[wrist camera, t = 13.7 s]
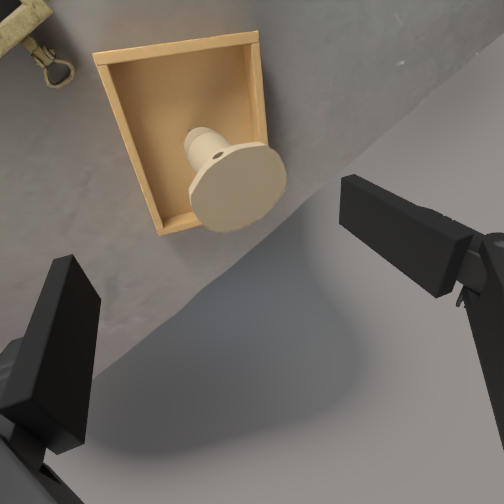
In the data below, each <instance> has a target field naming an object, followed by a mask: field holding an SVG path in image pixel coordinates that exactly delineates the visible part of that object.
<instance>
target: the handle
mask: <svg viewBox="0 0 504 504" xmlns="http://www.w3.org/2000/svg"><path fill="white" fill-rule="evenodd" d="M183 146H184V150H185V155H186V158H187V161H188V163H189V164H190V166H191V168H192V169H193V170H194V172H195V173H196V174H197V175H196V176H195V178H194V180H193V182H192V184H191V185H190V187H189V200H190V204H191V206H192V209H193V211H194V213H195V215H196V217H197V218H198V220H199V221H200V222H201V223H202V224H203V225H204V226H205V227H206V228H208V229H209V230H211V231H214V232H217V233H223V232H228V231H233V230H237V229H241V228H244V227H246V226H248V225H250V224H252V223H253V222H255V221H256V220H258V219H259V218H261V217H262V216H264V215H265V214H266V213H267V212H269V211H270V210H271V209H272V207H273V206H274V205H275V204H276V202H277V201H278V200H279V198H280V197H281V195H282V194H283V192H284V191H285V189H286V186H287V173H286V169H285V166H284V163H283V161H282V160H281V158H280V156H279V155H278V154H277V153H276V151H274V150H273V149H272V148H270V147H269V146H267V145H265V144H263V143H261V142H251V143H243V144H237V145H233V146H232V145H231V144H230V143H229V142H228V140H227V139H226V138H225V137H224V136H222V135H221V134H220V133H218V132H217V131H215V130H213V129H210V128H207V127H198V128H195V127H191V128H190V129H189V130H188V135H187V136H186V139H185V141H183Z"/></svg>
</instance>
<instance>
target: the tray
mask: <svg viewBox="0 0 504 504" xmlns="http://www.w3.org/2000/svg"><path fill="white" fill-rule="evenodd" d="M92 55H93V58H94V61H95V64H96V66H97V69H98V72H99V74H100V77H101V80H102V83H103V85H104V88H105V91H106V94H107V96H108V99H109V102H110V104H111V107H112V110H113V113H114V115H115V118H116V121H117V124H118V126H119V129H120V132H121V134H122V137H123V140H124V143H125V145H126V148H127V151H128V154H129V156H130V159H131V162H132V164H133V167H134V170H135V173H136V175H137V178H138V181H139V184H140V186H141V189H142V192H143V194H144V197H145V200H146V203H147V205H148V208H149V211H150V214H151V216H152V219H153V222H154V224H155V227H156V230H157V233H158V235H159V236H163V235H166V234H170V233H174V232H177V231H181V230H185V229H188V228H192V227H196V226H199V225H203V224H202V223H201V222H200V221H199V220H198V218H197V217H196V215H195V213H194V211H193V209H192V206H191V204H190V200H189V187H190V185H191V184H192V182H193V180H194V178H195V176H196V175H197V174H196V173H195V172H194V170H193V169H192V168H191V166H190V164H189V163H188V161H187V158H186V155H185V150H184V146H183V141H185V139H186V136H187V135H188V130H189V129H190V128H191V127H195V128H198V127H207V128H210V129H213V130H215V131H217V132H218V133H220V134H221V135H222V136H224V137H225V138H226V139H227V140H228V142H229V143H230V144H231V145H232V146H233V145H237V144H243V143H251V142H261V143H263V144H265V145H267V146H268V136H267V124H266V113H265V101H264V90H263V78H262V67H261V55H260V44H259V32H258V31H251V32H244V33H237V34H229V35H222V36H215V37H208V38H200V39H193V40H186V41H179V42H171V43H164V44H157V45H149V46H142V47H135V48H128V49H120V50H113V51H106V52H99V53H92Z"/></svg>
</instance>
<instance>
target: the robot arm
mask: <svg viewBox="0 0 504 504" xmlns="http://www.w3.org/2000/svg"><path fill="white" fill-rule="evenodd" d="M339 224H340V225H342V226H343V227H344V228H346V229H347V230H348V231H349V232H351V233H352V234H353V235H355V236H356V237H357V238H359V239H360V240H361V241H362V242H364V243H365V244H367V245H368V246H369V247H370V248H371V249H373V250H374V251H375V252H377V253H378V254H379V255H381V256H382V257H383V258H384V259H386V260H387V261H388V262H390V263H391V264H392V265H394V266H395V267H396V268H397V269H399V270H400V271H401V272H403V273H404V274H405V275H406V276H408V277H409V278H411V279H412V280H413V281H414V282H416V283H417V284H418V285H420V286H421V287H422V288H423V289H425V290H426V291H427V292H429V293H430V294H431V295H432V296H434V297H435V298H438V297H441V296H443V295H446V294H448V293H451V292H452V290H453V287H454V285H455V282H456V280H457V281H459V282H460V283H462V284H463V288H462V290H461V293H460V295H459V297H458V300H457V303H456V307H459V306H460V304H461V302H462V301H464V304H465V306H464V308H466V311H467V315H468V319H469V322H470V326H471V330H472V334H473V338H474V341H475V345H476V348H477V353H478V356H479V360H480V364H481V367H482V371H483V374H484V379H485V382H486V386H487V389H488V394H489V397H490V401H491V405H492V409H493V412H494V416H495V420H496V424H497V427H498V431H499V435H500V439H501V442H502V446H503V449H504V233H490V234H486V235H484V234H481V233H479V232H477V231H475V230H473V229H471V228H469V227H467V226H465V225H463V224H461V223H459V222H457V221H455V220H453V221H452V219H451V218H449V217H447V216H443V214H441V213H439V212H436V211H434V210H432V209H428V208H425V207H420V206H417V205H415V204H413V203H411V202H409V201H407V200H405V199H403V198H401V197H399V196H397V195H395V194H393V193H391V192H389V191H387V190H385V189H383V188H381V187H379V186H377V185H375V184H373V183H371V182H369V181H367V180H365V179H363V178H361V177H359V176H357V175H355V174H353V175H349V176H345V177H342V178H341V196H340V214H339ZM100 306H101V298H100V297H99V295H98V294H97V292H96V290H95V289H94V287H93V286H92V284H91V282H90V281H89V279H88V278H87V276H86V274H85V273H84V271H83V270H82V268H81V266H80V265H79V263H78V262H77V260H76V258H75V257H74V255H73V254H71V255H68V256H64V257H61V258H57V259H54V260H53V262H52V265H51V267H50V270H49V272H48V275H47V278H46V280H45V283H44V286H43V288H42V291H41V293H40V296H39V299H38V301H37V304H36V307H35V309H34V312H33V314H32V317H31V320H30V322H29V325H28V327H27V330H26V333H25V335H24V337H22V338H18V339H15V340H12V341H11V342H10V343H9V344H8V346H7V347H6V348H5V349H4V350H3V352H2V353H1V354H0V504H84V503H83V502H82V501H81V500H80V498H79V497H78V496H77V495H76V494H75V493H74V492H73V491H72V490H71V489H70V488H69V487H68V486H67V485H66V484H65V483H64V482H63V481H62V480H61V479H60V477H59V476H58V475H57V474H56V473H55V472H54V471H53V470H52V469H51V468H50V467H49V466H48V465H46V464H45V463H43V460H44V455H45V451H46V447H47V448H48V449H49V450H51V451H52V452H54V453H55V454H56V455H58V454H61V453H63V452H66V451H68V450H70V449H73V448H75V447H78V446H80V445H82V444H84V442H85V434H86V425H87V417H88V408H89V400H90V391H91V382H92V374H93V366H94V357H95V348H96V340H97V331H98V323H99V314H100Z"/></svg>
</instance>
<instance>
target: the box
mask: <svg viewBox="0 0 504 504" xmlns="http://www.w3.org/2000/svg"><path fill="white" fill-rule="evenodd" d="M52 13H53V10H52V8H51V7H50V5H49V4H48V3H47V2H46V1H45V0H0V58H1V57H2V56H3V55H4V54H6V53H7V52H8V51H9V50H11V49H12V48H13V47H14V46H15V45H17V44H18V43H19V42H20V43H21V44H22V45H23V46H24V47H25V48H26V49H27V50H28V51H31V52H32V54H31V56H32V58H33V59H34V60H35V64H36V65H40V66H41V67H42V68H43V72H44V79H45V81H46V83H47V85H48V86H50V87H51V88H53V89H55V88H61V87H62V86H64V85H66V84H67V83H68V82H70V81H71V80H72V78H73V77H74V76H75V68H74V65H73V64H72V63H71V62H70V61H68V60H65V59H60V58H56V57H55V52H54V50H53V48H50V47H46V46H45V45H44V46H40V45H39V44H38V43H37V42H36V41H35V39H34V38H33V37H32V36H31V35H30V34H29V33H30V32H32V31H33V30H34V29H35V28H36V27H37V26H38V25H40V24H41V23H42V22H43V21H44V20H45V19H46V18H48V17H49V16H50V15H51V14H52ZM53 61H55V62H57V63H63V64H66V65H68V66H69V68H70V69H71V72H70V74H69V75H68V76H67V77H65V78H64V79H63V80H62V81H60V82H58V83H52V82H50V80H49V77H48V68H47V66H48V65H49V64H50V63H52V62H53Z"/></svg>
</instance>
